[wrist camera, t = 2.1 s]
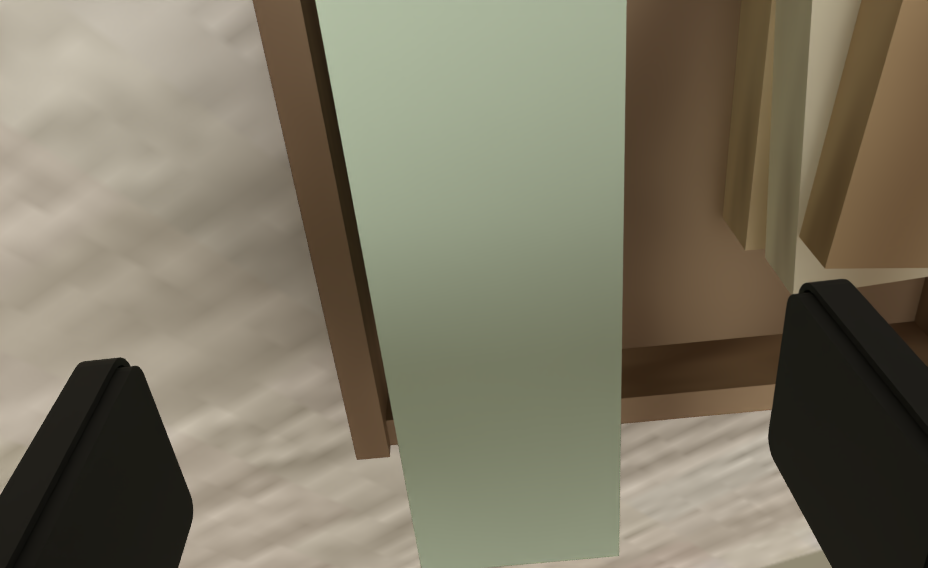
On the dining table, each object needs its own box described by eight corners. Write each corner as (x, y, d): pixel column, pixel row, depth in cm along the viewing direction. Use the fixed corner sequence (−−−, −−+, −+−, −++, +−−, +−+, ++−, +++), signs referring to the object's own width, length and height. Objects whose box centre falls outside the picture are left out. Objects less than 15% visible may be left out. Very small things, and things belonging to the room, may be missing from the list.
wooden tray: (1125, -407, 17) (1274, -449, 14) (929, 332, 27) (991, 401, 24) (223, -304, 17) (179, -323, 14) (365, 386, 27) (356, 459, 24)
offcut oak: (1000, -105, 19) (1055, -95, 17) (928, 197, 23) (967, 228, 22) (748, -79, 19) (779, -65, 18) (722, 216, 23) (745, 250, 22)
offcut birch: (1033, -77, 18) (1098, -62, 16) (973, 225, 22) (1020, 262, 20) (777, -32, 18) (813, -13, 16) (765, 257, 22) (792, 297, 20)
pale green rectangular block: (537, -150, 18) (627, -94, 10) (554, 290, 25) (618, 555, 16) (363, -131, 18) (304, -59, 10) (426, 303, 25) (422, 573, 16)
